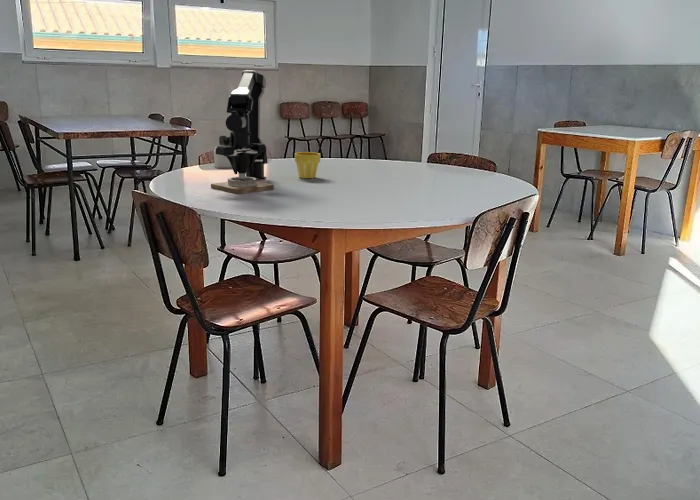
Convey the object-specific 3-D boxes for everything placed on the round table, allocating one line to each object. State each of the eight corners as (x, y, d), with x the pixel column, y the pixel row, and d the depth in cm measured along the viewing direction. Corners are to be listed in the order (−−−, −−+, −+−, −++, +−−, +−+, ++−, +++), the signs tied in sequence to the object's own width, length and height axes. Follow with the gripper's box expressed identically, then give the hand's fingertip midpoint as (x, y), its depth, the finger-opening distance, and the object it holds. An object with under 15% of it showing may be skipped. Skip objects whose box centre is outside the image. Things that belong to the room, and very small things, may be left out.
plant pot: (325, 178, 254) (325, 154, 251) (303, 180, 248) (303, 155, 245) (311, 174, 262) (311, 151, 259) (289, 176, 256) (289, 152, 253)
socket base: (246, 183, 238) (246, 174, 237) (273, 188, 227) (273, 179, 226) (210, 187, 226) (210, 178, 225) (238, 194, 216) (237, 184, 215)
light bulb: (247, 182, 223) (246, 153, 220) (231, 181, 224) (230, 153, 221) (252, 179, 228) (252, 152, 226) (237, 178, 229) (236, 151, 227)
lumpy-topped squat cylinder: (213, 167, 276) (212, 147, 274) (216, 163, 288) (215, 144, 286) (237, 167, 277) (236, 148, 275) (238, 163, 290) (238, 145, 287)
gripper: (247, 126, 233) (248, 168, 237) (205, 128, 220) (207, 173, 224) (267, 128, 226) (267, 171, 230) (224, 131, 213) (225, 177, 217)
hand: (242, 173), depth 225 cm, fingers closed on light bulb, 5 cm apart
